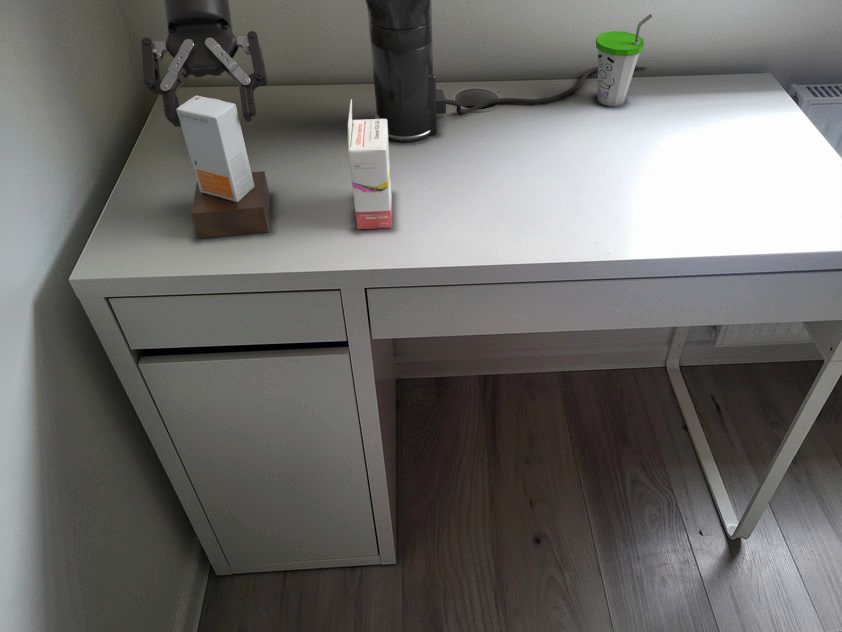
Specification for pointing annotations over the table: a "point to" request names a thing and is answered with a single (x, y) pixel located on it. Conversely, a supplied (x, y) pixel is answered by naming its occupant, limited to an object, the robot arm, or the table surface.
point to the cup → (617, 63)
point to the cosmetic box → (216, 147)
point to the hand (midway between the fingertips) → (212, 122)
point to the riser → (233, 212)
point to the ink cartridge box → (370, 171)
